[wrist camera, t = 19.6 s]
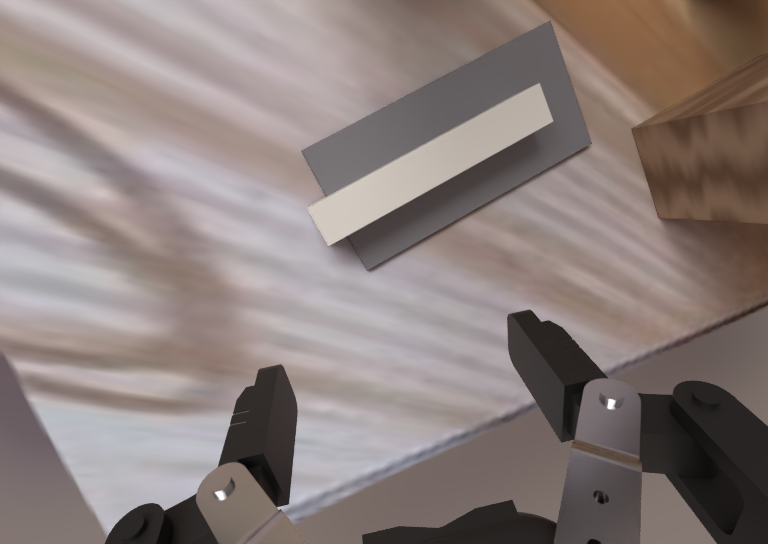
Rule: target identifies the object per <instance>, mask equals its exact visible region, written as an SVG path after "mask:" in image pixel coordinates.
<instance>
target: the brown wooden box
mask: <svg viewBox="0 0 768 544" xmlns="http://www.w3.org/2000/svg"><path fill="white" fill-rule="evenodd" d="M632 132H633V135H634V138H635V142H636V145H637V148H638V152H639V155H640V158H641V161H642V165H643V168H644V171H645V174H646V178H647V181H648V184H649V188H650V191H651V194H652V197H653V201H654V204H655V207H656V210H657V214H658V217H659V218H672V219H689V220H706V221H724V222H741V223H759V224H768V53H767V54H764V55H761V56H759V57H757V58H755V59H754V60H752V61H750V62H748V63H747V64H745V65H743V66H741V67H740V68H738V69H736V70H734V71H733V72H731V73H729V74H727V75H726V76H724V77H722V78H720V79H718V80H717V81H715V82H713V83H711V84H710V85H708V86H706V87H704V88H703V89H701V90H699V91H697V92H696V93H694V94H692V95H690V96H689V97H687V98H685V99H683V100H681V101H680V102H678V103H676V104H674V105H673V106H671V107H669V108H667V109H666V110H664V111H662V112H660V113H659V114H657V115H655V116H653V117H652V118H650V119H648V120H646V121H645V122H643V123H641V124H639V125H637V126H636V127H634V128H632Z"/></svg>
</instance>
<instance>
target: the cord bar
mask: <svg viewBox="0 0 768 544" xmlns="http://www.w3.org/2000/svg"><path fill="white" fill-rule="evenodd" d="M551 122H553V119H552V116H551V113H550V110H549V108H548V105H547V102H546V99H545V97H544V94H543V91H542V88H541V85H540V83H538V84H536V85H534V86H532V87H530V88H528V89H525V90H523V91H521V92H519V93H517V94H515V95H513V96H512V97H510V98H508V99H506V100H504V101H502V102H500V103H499V104H497V105H495V106H493V107H491V108H489V109H488V110H486V111H484V112H482V113H480V114H478V115H476V116H475V117H473V118H471V119H469V120H467V121H465V122H464V123H462V124H460V125H458V126H456V127H454V128H452V129H451V130H449V131H447V132H445V133H443V134H441V135H440V136H438V137H436V138H434V139H432V140H430V141H428V142H427V143H425V144H423V145H421V146H419V147H417V148H416V149H414V150H412V151H410V152H408V153H406V154H404V155H403V156H401V157H399V158H397V159H395V160H393V161H391V162H390V163H388V164H386V165H384V166H382V167H380V168H379V169H377V170H375V171H373V172H371V173H369V174H367V175H366V176H364V177H362V178H360V179H358V180H356V181H355V182H353V183H351V184H349V185H347V186H345V187H343V188H342V189H340V190H338V191H336V192H334V193H332V194H331V195H329V196H327V197H325V198H323V199H321V200H319V201H318V202H316V203H314V204H312V205H310V206H308V207H307V210H308V211H309V213H310V215H311V217H312V218H313V220H314V222H315V224H316V226H317V227H318V229H319V231H320V233H321V234H322V236H323V238H324V240H325V241H326V243H327V245H328V246H330V245H332V244H333V243H335V242H337V241H339V240H341V239H342V238H344V237H346V236H348V235H350V234H351V233H353V232H355V231H357V230H359V229H360V228H362V227H364V226H366V225H368V224H369V223H371V222H373V221H375V220H377V219H378V218H380V217H382V216H384V215H386V214H387V213H389V212H391V211H393V210H395V209H396V208H398V207H400V206H402V205H404V204H405V203H407V202H409V201H411V200H413V199H414V198H416V197H418V196H420V195H422V194H423V193H425V192H427V191H429V190H431V189H432V188H434V187H436V186H438V185H440V184H441V183H443V182H445V181H447V180H449V179H450V178H452V177H454V176H456V175H458V174H459V173H461V172H463V171H465V170H467V169H468V168H470V167H472V166H474V165H476V164H477V163H479V162H481V161H483V160H485V159H486V158H488V157H490V156H492V155H494V154H495V153H497V152H499V151H501V150H503V149H504V148H506V147H508V146H510V145H512V144H513V143H515V142H517V141H519V140H521V139H523V138H524V137H526V136H528V135H530V134H532V133H533V132H535V131H537V130H539V129H541V128H542V127H544V126H546V125H548V124H550V123H551Z"/></svg>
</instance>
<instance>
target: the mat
mask: <svg viewBox="0 0 768 544" xmlns="http://www.w3.org/2000/svg"><path fill="white" fill-rule="evenodd" d="M538 83H540V85H541V88H542V91H543V94H544V97H545V99H546V102H547V105H548V108H549V110H550V113H551V116H552V119H553V122H551V123H550V124H548V125H546V126H544V127H542V128H541V129H539V130H537V131H535V132H533V133H532V134H530V135H528V136H526V137H524V138H523V139H521V140H519V141H517V142H515V143H513V144H512V145H510V146H508V147H506V148H504V149H503V150H501V151H499V152H497V153H495V154H494V155H492V156H490V157H488V158H486V159H485V160H483V161H481V162H479V163H477V164H476V165H474V166H472V167H470V168H468V169H467V170H465V171H463V172H461V173H459V174H458V175H456V176H454V177H452V178H450V179H449V180H447V181H445V182H443V183H441V184H440V185H438V186H436V187H434V188H432V189H431V190H429V191H427V192H425V193H423V194H422V195H420V196H418V197H416V198H414V199H413V200H411V201H409V202H407V203H405V204H404V205H402V206H400V207H398V208H396V209H395V210H393V211H391V212H389V213H387V214H386V215H384V216H382V217H380V218H378V219H377V220H375V221H373V222H371V223H369V224H368V225H366V226H364V227H362V228H360V229H359V230H357V231H355V232H353V233H351V234H350V235H348V237H349V239H350V241H351V243H352V244H353V246H354V248H355V250H356V252H357V254H358V255H359V257H360V259H361V261H362V263H363V264H364V266H365V268H366V270H369V269H371V268H372V267H374V266H376V265H378V264H380V263H381V262H383V261H385V260H387V259H388V258H390V257H392V256H394V255H395V254H397V253H399V252H401V251H402V250H404V249H406V248H408V247H410V246H411V245H413V244H415V243H417V242H418V241H420V240H422V239H424V238H425V237H427V236H429V235H431V234H433V233H434V232H436V231H438V230H440V229H441V228H443V227H445V226H447V225H448V224H450V223H452V222H454V221H456V220H457V219H459V218H461V217H463V216H464V215H466V214H468V213H470V212H471V211H473V210H475V209H477V208H479V207H480V206H482V205H484V204H486V203H487V202H489V201H491V200H493V199H494V198H496V197H498V196H500V195H501V194H503V193H505V192H507V191H509V190H510V189H512V188H514V187H516V186H517V185H519V184H521V183H523V182H524V181H526V180H528V179H530V178H532V177H533V176H535V175H537V174H539V173H540V172H542V171H544V170H546V169H547V168H549V167H551V166H553V165H555V164H556V163H558V162H560V161H562V160H563V159H565V158H567V157H569V156H570V155H572V154H574V153H576V152H578V151H579V150H581V149H583V148H585V147H586V146H588V145H590V144H592V143H591V140H590V137H589V134H588V131H587V128H586V125H585V122H584V119H583V116H582V113H581V110H580V107H579V104H578V101H577V98H576V95H575V92H574V89H573V87H572V84H571V81H570V78H569V75H568V72H567V69H566V66H565V63H564V60H563V57H562V54H561V51H560V48H559V45H558V42H557V39H556V36H555V33H554V30H553V27H552V24H551V21H549V22H547V23H545V24H543V25H541V26H539V27H537V28H535V29H533V30H531V31H529V32H528V33H526V34H524V35H522V36H520V37H518V38H516V39H514V40H512V41H510V42H508V43H506V44H505V45H503V46H501V47H499V48H497V49H495V50H493V51H491V52H489V53H487V54H485V55H484V56H482V57H480V58H478V59H476V60H474V61H472V62H470V63H468V64H466V65H464V66H462V67H461V68H459V69H457V70H455V71H453V72H451V73H449V74H447V75H445V76H443V77H441V78H440V79H438V80H436V81H434V82H432V83H430V84H428V85H426V86H424V87H422V88H420V89H418V90H417V91H415V92H413V93H411V94H409V95H407V96H405V97H403V98H401V99H399V100H397V101H396V102H394V103H392V104H390V105H388V106H386V107H384V108H382V109H380V110H378V111H376V112H374V113H373V114H371V115H369V116H367V117H365V118H363V119H361V120H359V121H357V122H355V123H353V124H352V125H350V126H348V127H346V128H344V129H342V130H340V131H338V132H336V133H334V134H332V135H330V136H329V137H327V138H325V139H323V140H321V141H319V142H317V143H315V144H313V145H311V146H309V147H308V148H306V149H304V150H302V153H303V155H304V157H305V159H306V160H307V162H308V164H309V166H310V168H311V170H312V171H313V173H314V175H315V177H316V179H317V181H318V182H319V184H320V186H321V188H322V190H323V191H324V193H325V195H326V197H327V196H329V195H331V194H332V193H334V192H336V191H338V190H340V189H342V188H343V187H345V186H347V185H349V184H351V183H353V182H355V181H356V180H358V179H360V178H362V177H364V176H366V175H367V174H369V173H371V172H373V171H375V170H377V169H379V168H380V167H382V166H384V165H386V164H388V163H390V162H391V161H393V160H395V159H397V158H399V157H401V156H403V155H404V154H406V153H408V152H410V151H412V150H414V149H416V148H417V147H419V146H421V145H423V144H425V143H427V142H428V141H430V140H432V139H434V138H436V137H438V136H440V135H441V134H443V133H445V132H447V131H449V130H451V129H452V128H454V127H456V126H458V125H460V124H462V123H464V122H465V121H467V120H469V119H471V118H473V117H475V116H476V115H478V114H480V113H482V112H484V111H486V110H488V109H489V108H491V107H493V106H495V105H497V104H499V103H500V102H502V101H504V100H506V99H508V98H510V97H512V96H513V95H515V94H517V93H519V92H521V91H523V90H525V89H528V88H530V87H532V86H534V85H536V84H538Z"/></svg>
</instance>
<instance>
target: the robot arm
mask: <svg viewBox="0 0 768 544" xmlns="http://www.w3.org/2000/svg"><path fill="white" fill-rule="evenodd" d="M507 324H508V349H509V355H510V358H511V361H512V363H513V365H514V367H515V369H516V370H517V372H518V373H519V375H520V377H521V378H522V380H523V382H524V383H525V385H526V386H527V388H528V390H529V391H530V393H531V394H532V396H533V398H534V399H535V401H536V402H537V404H538V406H539V407H540V409H541V410H542V412H543V414H544V415H545V417H546V419H547V420H548V422H549V423H550V425H551V427H552V428H553V430H554V431H555V433H556V435H557V436H558V438H559V439H560V441H561V442H566V441H570V440H574V442H573V443H572V447H571V453H570V458H569V463H568V469H567V474H566V479H565V485H564V490H563V496H562V501H561V506H560V511H559V517H558V522H557V523H555V522H553V521H551V520H549V519H546V518H544V517H541V516H537V515H534V514H528V513H522V512H517V510H516V508H515V505H514V503H513V501H512V500H509V501H505V502H501V503H497V504H492V505H488V506H484V507H479V508H476V509H474V510H472V511H470V512H468V513H466V514H465V515H463V516H461V517H459V518H457V519H456V520H454V521H452V522H451V523H449V524H447V525H445V526H443V527H440V528H426V527H404V526H398V527H394V528H390V529H386V530H381V531H377V532H373V533H369V534H364V535H362V539H363V544H640V528H641V489H642V472H649V473H661V474H665V475H666V476H667V478H668V479H669V480H670V482H671V483H672V484H673V486H674V487H675V488H676V490H678V492H679V493H680V495H681V496H682V497H683V499H684V500H685V501H686V503H687V504H688V506H689V507H690V508H691V509H692V511H693V512H694V513H695V515H696V516H697V517H698V519H699V520H700V521H701V523H702V524H703V525H704V527H705V528H706V529H707V531H708V532H709V533H710V535H711V536H712V537H713V539H714V540H715V541H716V543H717V544H768V426H767V425H766V424H764V423H763V422H762V421H761V420H760V419H759V418H757V417H756V416H755V415H754V414H753V413H752V412H751V411H750V410H748V409H747V408H746V407H745V406H744V405H743V404H741V402H739V401H738V400H737V399H736V398H735V397H734V396H733V395H731V394H730V393H729V392H727V391H726V390H724V389H722V388H720V387H718V386H716V385H713V384H710V383H706V382H702V381H685V382H682V383H680V384H678V385H677V386H676V387H675V388H674V390H673V395H658V394H657V395H656V394H641V393H637V392H636V391H635V390H634V389H633V388H632V387H630V386H629V385H627V384H625V383H623V382H621V381H618V380H614V379H609V378H608V377H607V376H606V375H605V374H604V373H603V372H602V371H601V370H600V369H599V367H598V366H597V365H596V364H595V363H594V362H593V361H592V360H591V359H590V357H589V356H588V355H587V354H586V353H585V352H584V351H583V350H582V349H581V348H579V345H578V344H577V343H576V342H575V341H574V340H572V338H571V336H570V335H569V334H568V333H567V332H566V331H565V330H564V329H563V328H562V327H560V326H558V325H557V324H555V323H553V322H551V321H549V320H548V321H544V322H541V321H540V320H539V319H538V317H537V316H536V315H535V314H534V313H533V312H532V311H531V310H525V311H521V312H516V313H512V314H509V315H508V317H507ZM296 424H297V402H296V398H295V395H294V392H293V390H292V387H291V385H290V382H289V380H288V377H287V374H286V372H285V369H284V367H283V366H282V365H281V364H280V365H275V366H271V367H266V368H262V369H259V371H258V373H257V378H256V382H255V385H254V386H250V387H246V388H245V390H244V391H243V392H242V394H241V395H240V396H239V398H238V399H237V401H236V405H235V408H234V412H233V416H232V419H231V422H230V427H229V430H228V433H227V437H226V440H225V444H224V447H223V451H222V454H221V458H220V461H219V465H218V468H216V469H214V470H213V471H212V472H211V473H209V474H208V475H207V476H206V477H205V479H204V480H203V481H202V483H201V484H200V486H199V488H198V491H197V493H196V494H195V495H193V496H192V497H190V498H188V499H186V500H184V501H183V502H181V503H179V504H177V505H175V506H173V507H171V508H169V509H167V510H165V511H164V510H163V509H162V507H161V506H160V505H158V504H154V503H149V504H144V505H141V506H139V507H137V508H135V509H133V510H132V511H130V512H129V513H127V514H126V515H125V516H124V517H123V518H122V519H120V521H119V522H118V523H117V524H116V525H115V526H114V528H113V529H112V530H111V532H110V534H109V535H108V537H107V540H106V542H105V544H308V543H307V541H306V540H305V539H304V538H303V536H302V535H301V534H300V532H299V531H298V530H297V529H296V527H295V526H294V525H293V523H292V522H291V521H290V520H289V518H288V517H287V516H286V514H285V513H284V512H283V511H282V510H281V509H280V510H278V509H277V507H280V506H284V505H288V504H289V497H290V487H291V476H292V466H293V455H294V445H295V435H296Z"/></svg>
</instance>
